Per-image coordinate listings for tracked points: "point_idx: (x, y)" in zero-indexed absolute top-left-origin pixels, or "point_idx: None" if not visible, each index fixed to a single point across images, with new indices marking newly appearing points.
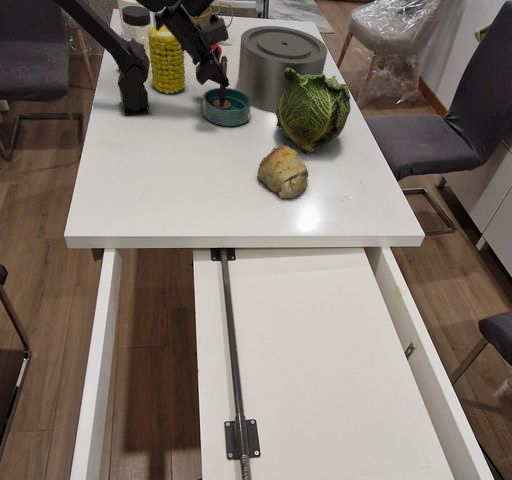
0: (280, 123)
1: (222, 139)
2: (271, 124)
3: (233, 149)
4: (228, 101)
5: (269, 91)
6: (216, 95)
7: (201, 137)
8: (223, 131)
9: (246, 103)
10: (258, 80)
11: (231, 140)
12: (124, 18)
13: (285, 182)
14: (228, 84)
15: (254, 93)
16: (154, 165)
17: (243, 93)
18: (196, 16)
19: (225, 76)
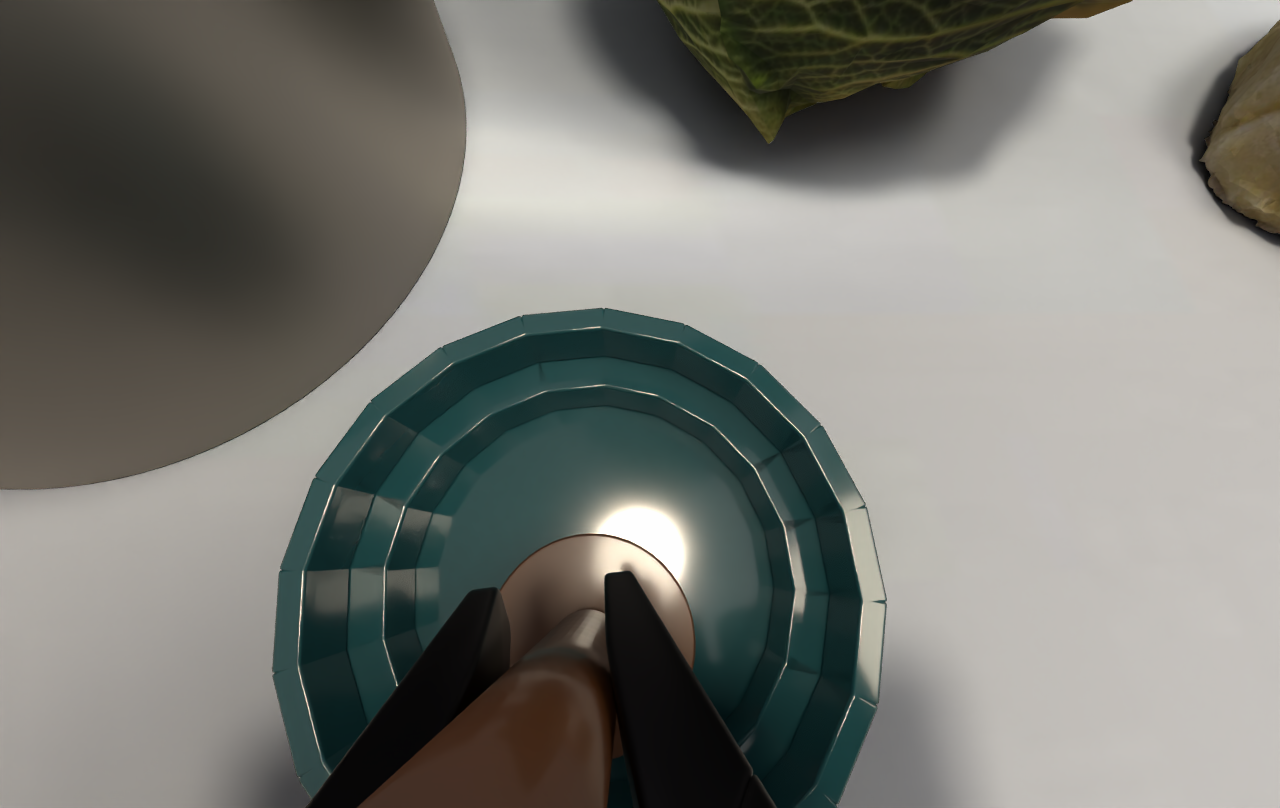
0: (1016, 35)
1: (1017, 588)
2: (651, 202)
3: (1131, 484)
4: (523, 565)
5: (376, 110)
6: (363, 726)
7: (1064, 802)
8: None
9: (505, 371)
10: (240, 172)
11: (1002, 507)
12: None
13: None
14: (638, 587)
15: (312, 289)
16: None
17: (402, 390)
18: None
19: (593, 683)
